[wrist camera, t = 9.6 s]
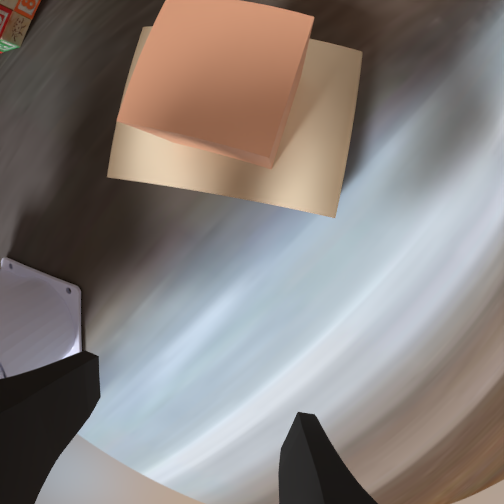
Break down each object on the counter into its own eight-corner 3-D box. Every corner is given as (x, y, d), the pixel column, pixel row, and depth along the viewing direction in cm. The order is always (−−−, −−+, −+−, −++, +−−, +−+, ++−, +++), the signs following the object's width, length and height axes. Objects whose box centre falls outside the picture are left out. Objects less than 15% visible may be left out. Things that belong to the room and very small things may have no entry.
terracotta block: (174, 142, 14) (116, 121, 8) (204, 54, 13) (168, -7, 7) (271, 169, 14) (269, 157, 8) (300, 76, 13) (314, 16, 7)
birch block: (137, 177, 19) (106, 177, 15) (165, 51, 17) (143, 26, 13) (322, 211, 18) (335, 218, 15) (346, 75, 16) (362, 51, 13)
